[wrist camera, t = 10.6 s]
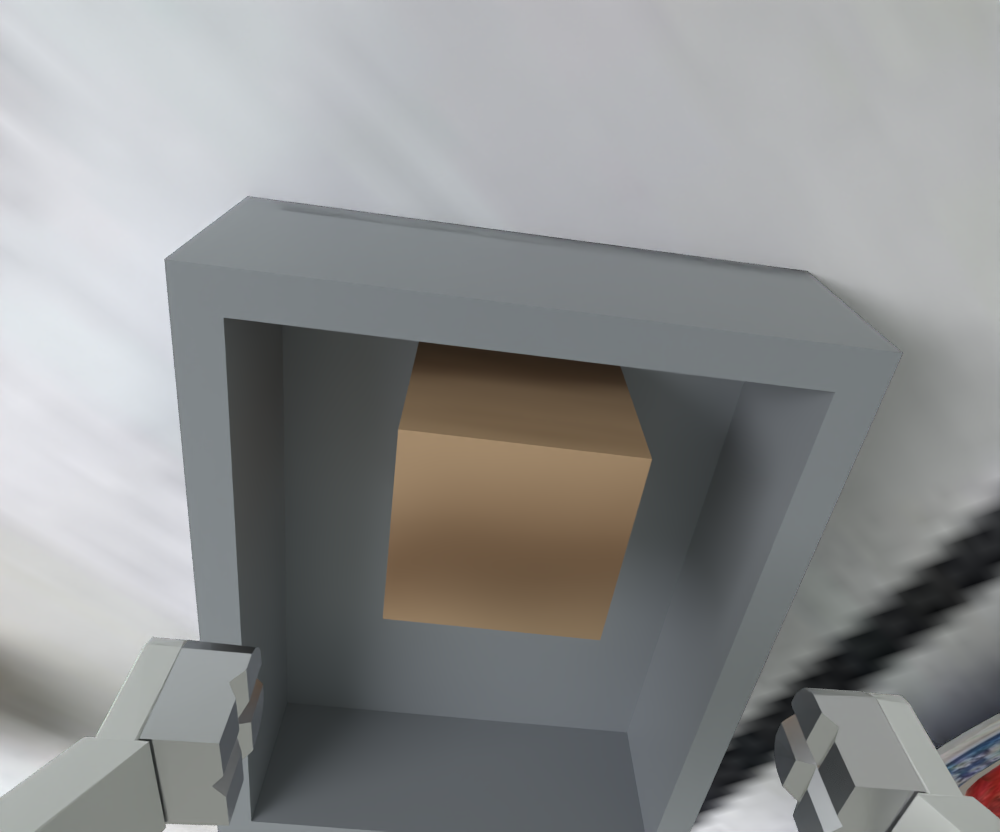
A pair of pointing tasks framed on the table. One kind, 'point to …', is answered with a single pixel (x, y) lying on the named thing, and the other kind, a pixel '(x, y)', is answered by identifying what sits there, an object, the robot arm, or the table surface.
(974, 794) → the ceramic plate
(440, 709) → the tote
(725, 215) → the table surface
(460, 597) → the walnut cube
